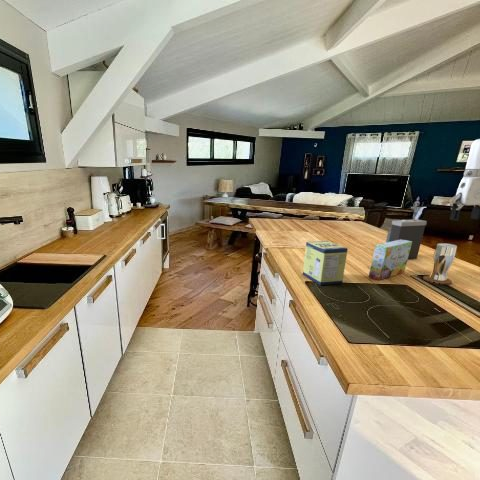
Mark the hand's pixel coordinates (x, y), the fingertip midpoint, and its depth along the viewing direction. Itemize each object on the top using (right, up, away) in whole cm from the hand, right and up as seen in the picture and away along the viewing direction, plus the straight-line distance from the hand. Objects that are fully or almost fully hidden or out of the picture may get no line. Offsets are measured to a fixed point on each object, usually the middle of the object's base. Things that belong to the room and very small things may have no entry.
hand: (464, 219), depth 125 cm
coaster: (-3, -24, +10) cm, 26 cm away
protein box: (-52, -24, +14) cm, 59 cm away
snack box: (-20, -22, +18) cm, 34 cm away
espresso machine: (+3, -11, +45) cm, 46 cm away
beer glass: (-3, -24, +9) cm, 26 cm away
